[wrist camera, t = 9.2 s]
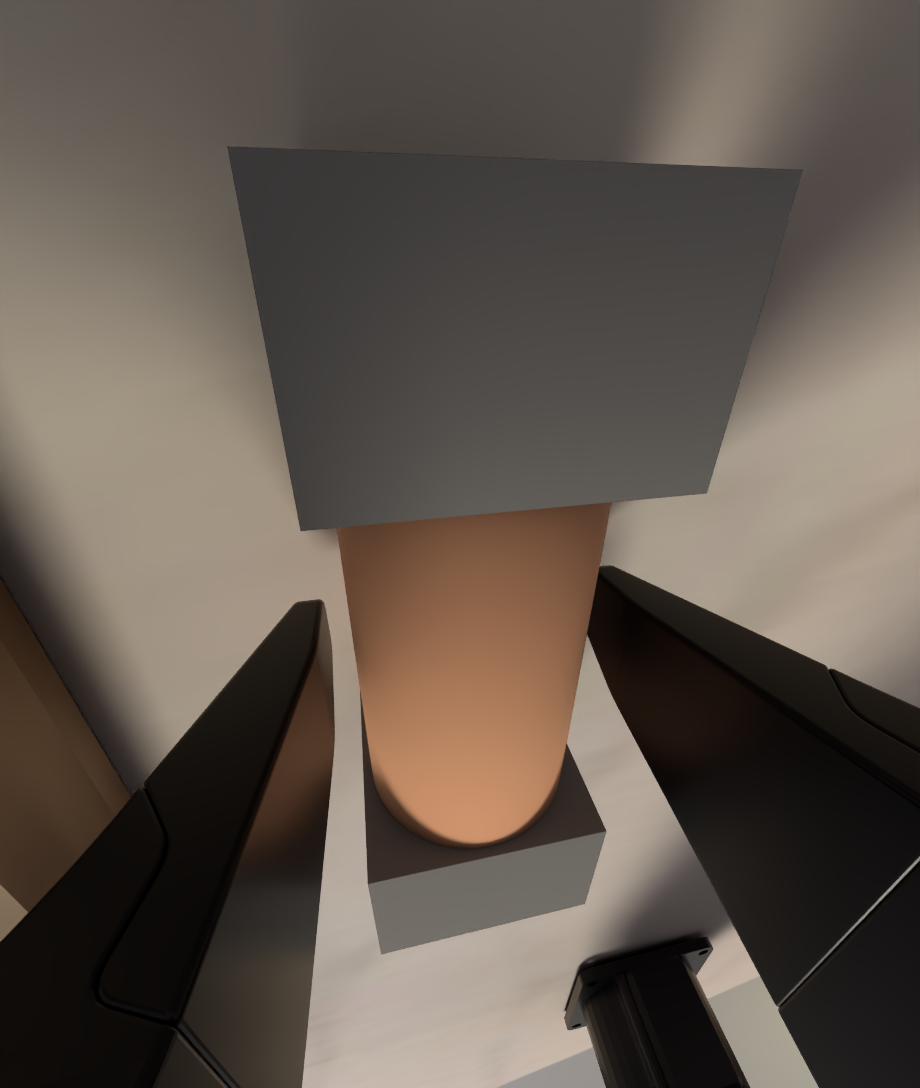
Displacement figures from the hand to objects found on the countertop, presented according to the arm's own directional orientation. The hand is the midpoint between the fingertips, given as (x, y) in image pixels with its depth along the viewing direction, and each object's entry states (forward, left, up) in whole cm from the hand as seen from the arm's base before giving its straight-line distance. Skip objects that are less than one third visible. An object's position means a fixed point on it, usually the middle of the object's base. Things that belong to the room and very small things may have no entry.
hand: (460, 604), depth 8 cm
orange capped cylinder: (0, 0, -1) cm, 1 cm away
